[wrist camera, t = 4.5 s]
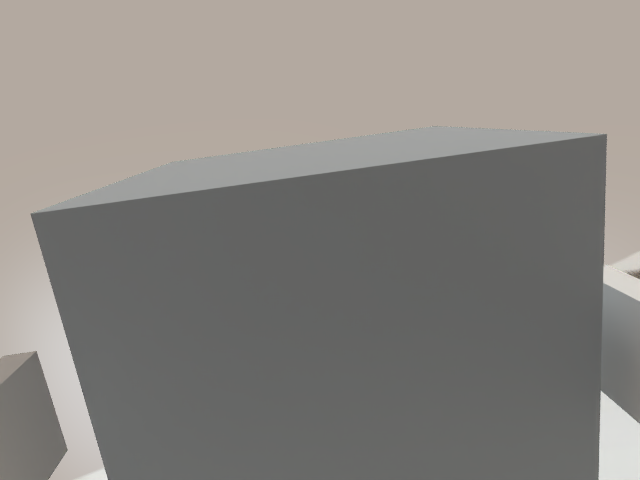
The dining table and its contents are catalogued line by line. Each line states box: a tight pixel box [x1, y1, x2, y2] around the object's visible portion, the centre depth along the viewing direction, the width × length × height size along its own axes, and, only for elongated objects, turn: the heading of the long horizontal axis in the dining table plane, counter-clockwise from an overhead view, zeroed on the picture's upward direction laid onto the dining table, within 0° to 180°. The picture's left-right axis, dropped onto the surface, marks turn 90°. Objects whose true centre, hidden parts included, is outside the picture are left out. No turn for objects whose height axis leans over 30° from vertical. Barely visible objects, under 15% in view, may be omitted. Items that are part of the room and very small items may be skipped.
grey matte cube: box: [31, 126, 607, 480], centre depth 14 cm, size 10×10×9 cm
